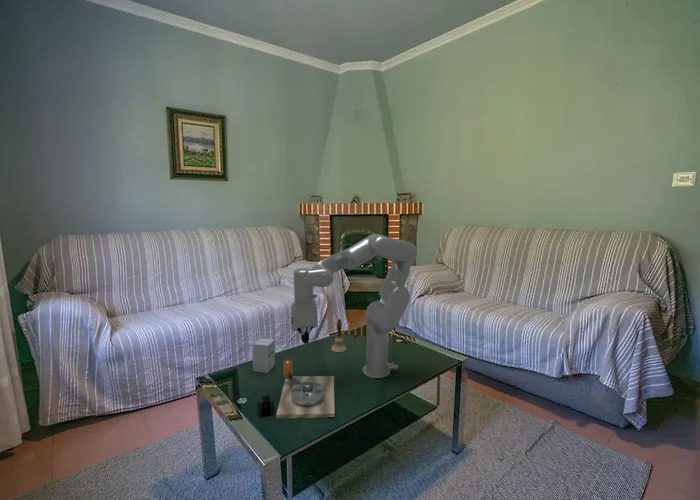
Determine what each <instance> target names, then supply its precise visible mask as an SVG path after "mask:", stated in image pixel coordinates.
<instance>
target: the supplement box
mask: <svg viewBox="0 0 700 500" xmlns="http://www.w3.org/2000/svg"><path fill="white" fill-rule="evenodd" d="M275 344H276V343H275V339H274V338H273V339H271V338H261V337H260V338H259V339H257V340H256V341H255V342H254V343H252V371H253V372H255V373H256V372H257V373H263V374H264V373H265V374H269V373H270V372H271V370H272V369H273V368H274V367H275V365H276V364H275V358H276V357H275V349H276V348H275V347H276V346H275Z"/></svg>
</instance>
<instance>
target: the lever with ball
mask: <svg viewBox="0 0 700 500" xmlns="http://www.w3.org/2000/svg"><path fill="white" fill-rule="evenodd" d="M282 369H283V371H282V375H283V377H284V379H287V380H289V381H290V382H291V383H293V384H294V385H293V387H292V390H291V400H292V402H293V403H294V404H296V405H298V406H302V407H310V406H314V405H317V404H319V403H320V402H321V401H322V400H323V398H324V388H323V386H322V385H321V384H319V383H316V382H313V380H309V379H307V381H306V382H300V381H298V380H297V379H296V378H294V377H293V360H292V359H285V360H283V361H282Z"/></svg>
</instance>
